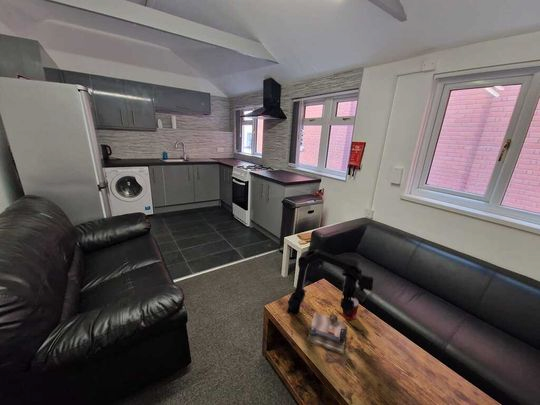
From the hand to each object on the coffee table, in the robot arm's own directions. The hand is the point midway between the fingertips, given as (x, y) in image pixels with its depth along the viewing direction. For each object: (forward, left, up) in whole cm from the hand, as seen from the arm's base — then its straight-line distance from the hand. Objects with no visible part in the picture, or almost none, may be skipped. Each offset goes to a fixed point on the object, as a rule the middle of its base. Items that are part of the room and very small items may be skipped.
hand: (345, 307), depth 118 cm
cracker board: (-7, -6, -14) cm, 17 cm away
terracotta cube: (-5, -8, -12) cm, 16 cm away
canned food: (+4, +11, -15) cm, 19 cm away
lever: (-7, -12, -12) cm, 18 cm away
